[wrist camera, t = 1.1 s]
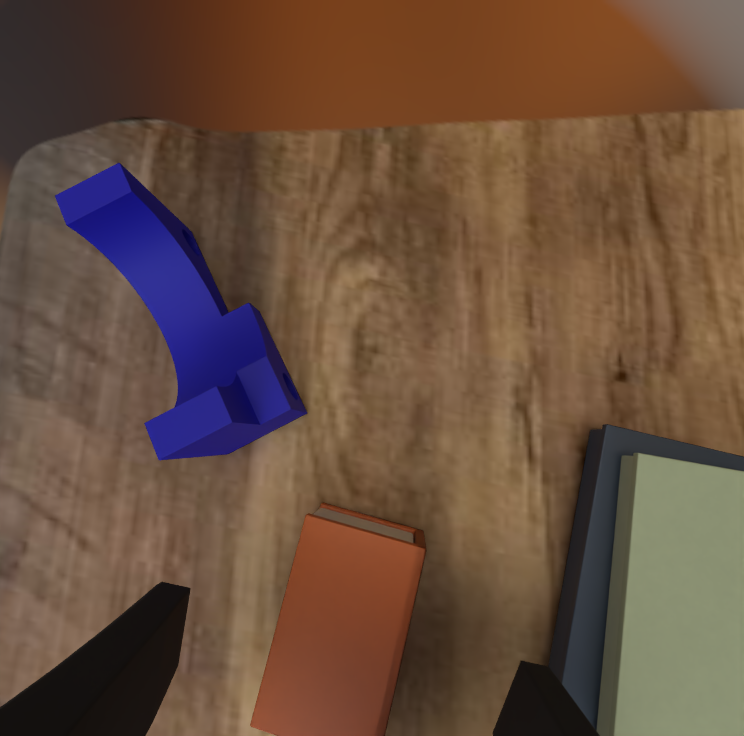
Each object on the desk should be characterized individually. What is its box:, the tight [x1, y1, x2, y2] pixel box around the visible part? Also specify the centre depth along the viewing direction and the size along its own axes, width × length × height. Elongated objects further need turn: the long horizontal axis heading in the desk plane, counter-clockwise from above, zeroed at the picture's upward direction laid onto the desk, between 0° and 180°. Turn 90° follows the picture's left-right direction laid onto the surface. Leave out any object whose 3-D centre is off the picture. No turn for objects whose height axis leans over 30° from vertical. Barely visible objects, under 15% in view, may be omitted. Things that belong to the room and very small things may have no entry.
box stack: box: [548, 424, 744, 736], centre depth 17 cm, size 13×10×4 cm
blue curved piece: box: [55, 163, 307, 460], centre depth 20 cm, size 12×4×6 cm, turn 27°
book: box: [250, 503, 426, 736], centre depth 18 cm, size 8×5×3 cm, turn 166°
